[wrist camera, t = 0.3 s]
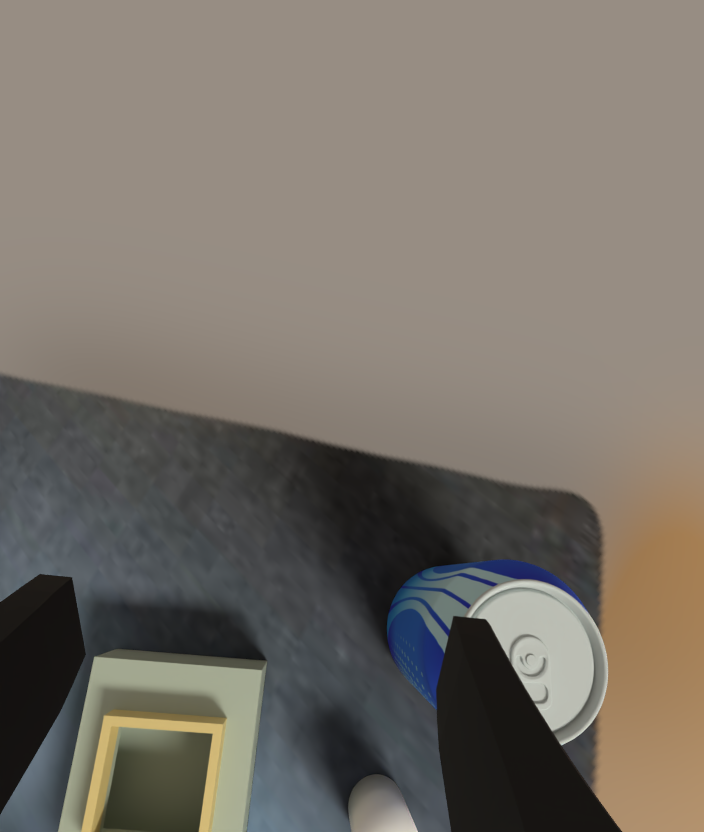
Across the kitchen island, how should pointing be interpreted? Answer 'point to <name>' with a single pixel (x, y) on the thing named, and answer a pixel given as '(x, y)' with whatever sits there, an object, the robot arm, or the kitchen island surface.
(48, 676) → the robot arm
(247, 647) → the kitchen island surface
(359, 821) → the pellet
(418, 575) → the beer can
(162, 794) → the square stacking base
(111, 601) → the kitchen island surface
